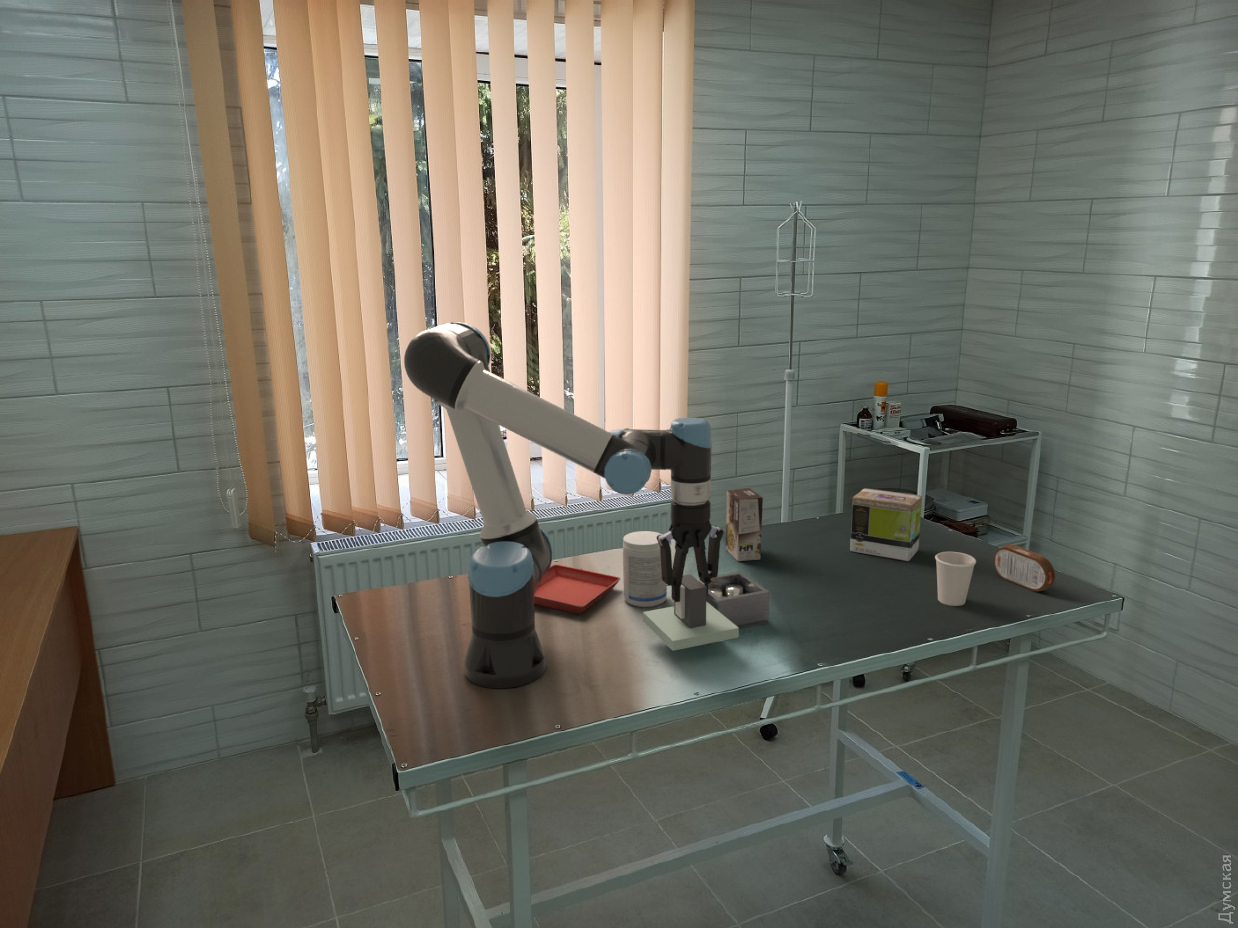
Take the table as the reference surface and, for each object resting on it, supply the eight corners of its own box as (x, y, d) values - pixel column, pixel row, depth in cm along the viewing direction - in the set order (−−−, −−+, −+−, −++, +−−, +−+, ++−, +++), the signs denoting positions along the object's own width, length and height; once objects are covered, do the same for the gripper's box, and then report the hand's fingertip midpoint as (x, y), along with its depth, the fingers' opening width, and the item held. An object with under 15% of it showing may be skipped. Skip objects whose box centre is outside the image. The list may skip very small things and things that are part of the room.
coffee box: (761, 559, 222) (763, 497, 217) (737, 561, 220) (739, 499, 216) (748, 547, 230) (750, 487, 226) (724, 549, 229) (726, 489, 224)
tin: (1054, 594, 199) (1058, 559, 197) (1044, 597, 198) (1048, 562, 196) (998, 572, 212) (1002, 539, 210) (989, 574, 211) (992, 541, 209)
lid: (672, 650, 167) (672, 601, 164) (643, 621, 179) (642, 574, 177) (738, 637, 172) (739, 589, 169) (705, 609, 184) (705, 564, 182)
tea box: (919, 550, 227) (923, 494, 223) (908, 562, 219) (913, 505, 215) (860, 540, 235) (864, 486, 231) (848, 551, 226) (851, 496, 222)
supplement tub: (675, 602, 197) (675, 539, 193) (639, 612, 192) (639, 548, 188) (649, 587, 205) (649, 527, 201) (615, 597, 200) (614, 535, 196)
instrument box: (717, 632, 182) (718, 601, 180) (691, 610, 193) (691, 579, 191) (768, 622, 187) (769, 591, 185) (739, 601, 197) (740, 571, 195)
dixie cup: (928, 604, 195) (932, 561, 192) (934, 590, 202) (938, 549, 200) (969, 611, 191) (973, 567, 189) (974, 597, 198) (978, 554, 196)
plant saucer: (621, 589, 205) (621, 576, 204) (582, 620, 190) (582, 605, 189) (554, 576, 213) (554, 563, 212) (512, 604, 198) (511, 590, 197)
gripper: (658, 511, 162) (659, 629, 169) (738, 499, 168) (736, 614, 174) (642, 499, 169) (643, 613, 175) (720, 489, 175) (718, 599, 181)
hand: (689, 613), depth 175 cm, fingers closed on lid, 3 cm apart
